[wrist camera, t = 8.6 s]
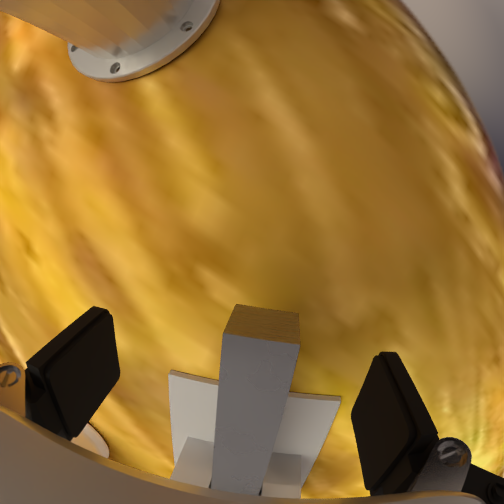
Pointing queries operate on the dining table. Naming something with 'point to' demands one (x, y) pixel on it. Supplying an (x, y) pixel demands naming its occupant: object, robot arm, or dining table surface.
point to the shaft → (252, 394)
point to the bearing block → (285, 448)
